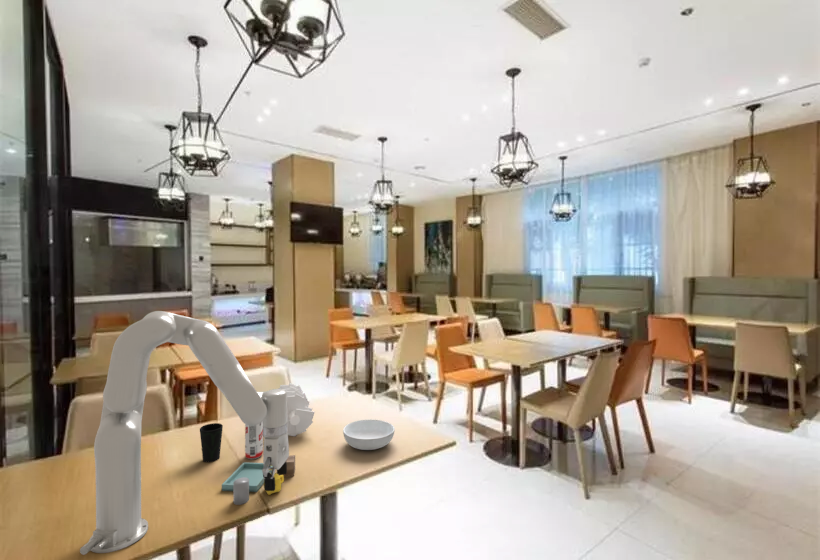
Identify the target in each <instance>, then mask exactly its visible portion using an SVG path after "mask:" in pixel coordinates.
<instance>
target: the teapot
mask: <svg viewBox="0 0 820 560" xmlns="http://www.w3.org/2000/svg"><path fill="white" fill-rule="evenodd" d="M270 474H271V473H270ZM274 477H275V490H274V491H265V492H266V493H267V495H268V496H271V495H272V494H274V493H279V492H280V491H281V490H282V484H283V483H284V481H285V477H284V476H283V475H279V474H277V472H275V473H274Z"/></svg>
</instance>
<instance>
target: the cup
mask: <svg viewBox="0 0 820 560" xmlns="http://www.w3.org/2000/svg"><path fill="white" fill-rule="evenodd" d="M223 426H224V425H223V424H222V423H217V422H214V423H208V424H204V425H203V426H201V427H200V428H199V434H200V437H199V438H200V443H201V454H202V462H203V463H213V462H216V461H218V460H219V459H220V457H221V445H222V436H223Z"/></svg>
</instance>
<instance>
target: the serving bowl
mask: <svg viewBox="0 0 820 560" xmlns="http://www.w3.org/2000/svg"><path fill="white" fill-rule="evenodd" d="M342 433H343V437H344V440H345V442H346V443H347V444H348V445H349V446H351V447H352V448H355V449H357V450H361V451H372V450H373V451H374V450H378V449H381V448H384V447H386V446H387V445H388V444H389V443H390V442H391V441H392V439H393V438H394V435H395V426H394V425H393V424H392V423H390V422H388V421H385V420H381V419H372V418H371V419H360V420H359V419H358V420H355V421H352V422H350V423H348V424H346V425H345V426H344V427H343V429H342Z"/></svg>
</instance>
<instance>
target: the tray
mask: <svg viewBox="0 0 820 560" xmlns="http://www.w3.org/2000/svg"><path fill="white" fill-rule="evenodd" d="M263 467H264V465H263V462H248V461H247V462H246V461H245V462H244V461H243V462H242V463H241V464H240V465H239V466H238V467H237V468H236V469H235V470H234V471H233V472H232V474H231V475H229V476H228V478H227V479H225V481H224V482H223V483H222V484H221V492H222V491H223V492H233V482H234V481H235V480H236V479H239V478H243V477H245V478H248V479H249V493H258V491H259V490H260V489H261V488H262V487H263V486H264V477H263V472H262V470H263ZM269 467H273V466H269ZM268 471H269V473H272V470H268Z"/></svg>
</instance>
